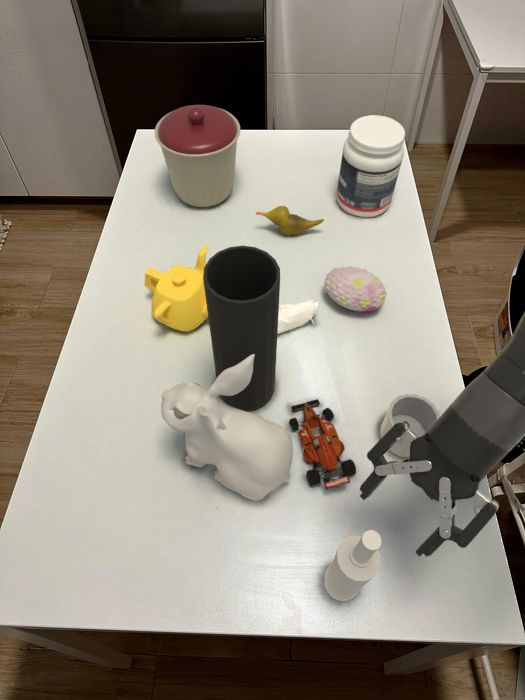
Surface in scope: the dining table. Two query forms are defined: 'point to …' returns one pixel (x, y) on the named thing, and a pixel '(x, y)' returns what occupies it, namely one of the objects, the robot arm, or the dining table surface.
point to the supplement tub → (370, 165)
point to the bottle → (353, 565)
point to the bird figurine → (295, 314)
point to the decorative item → (355, 288)
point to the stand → (409, 419)
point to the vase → (244, 318)
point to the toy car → (322, 446)
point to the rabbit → (230, 434)
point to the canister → (199, 152)
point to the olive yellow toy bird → (289, 221)
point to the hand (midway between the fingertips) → (390, 524)
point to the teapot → (179, 295)
